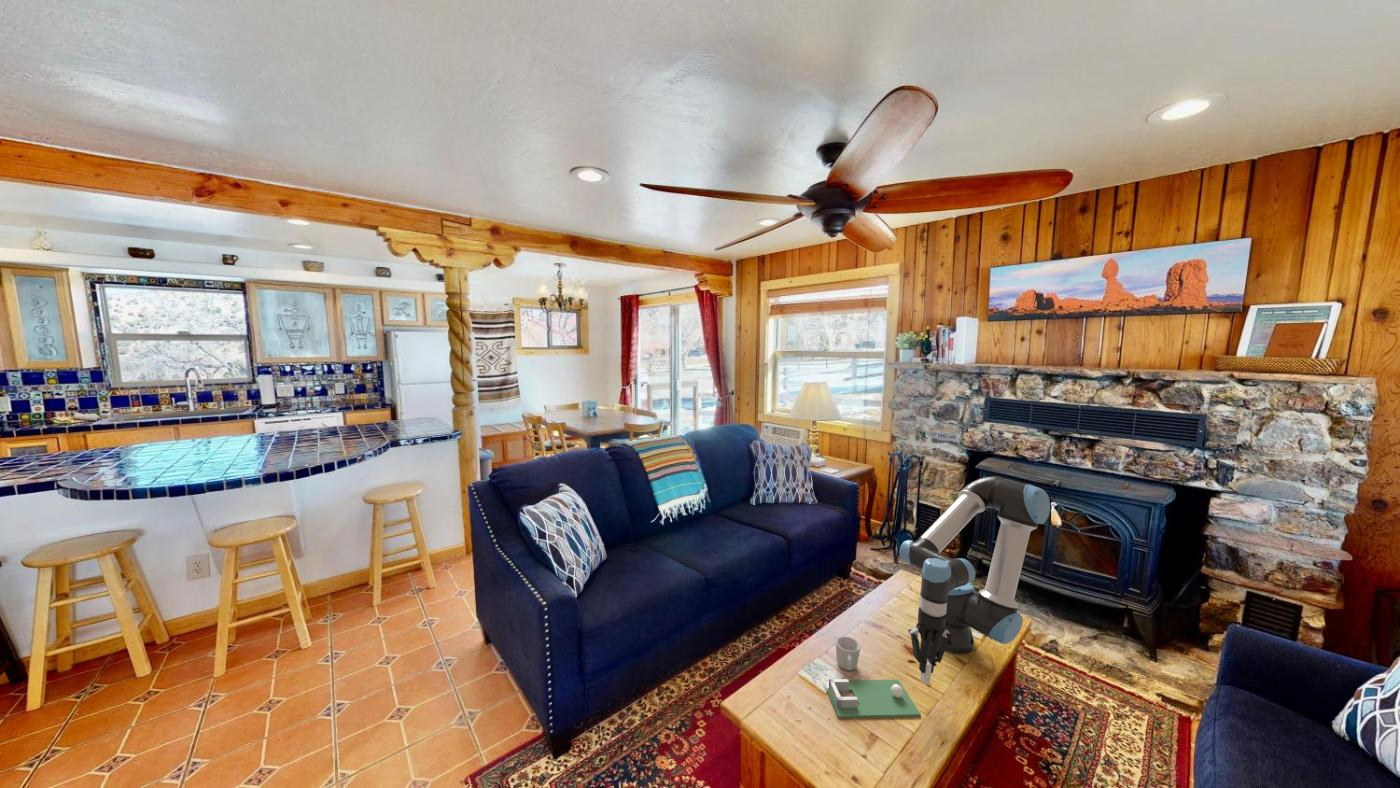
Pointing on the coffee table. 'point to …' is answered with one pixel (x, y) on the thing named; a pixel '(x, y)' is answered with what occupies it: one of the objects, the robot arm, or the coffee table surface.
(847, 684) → the white u-shaped bracket
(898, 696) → the ball
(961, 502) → the robot arm
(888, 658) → the coffee table surface
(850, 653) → the cup
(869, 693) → the green mat
